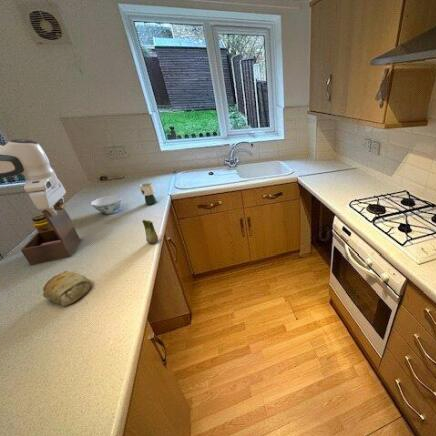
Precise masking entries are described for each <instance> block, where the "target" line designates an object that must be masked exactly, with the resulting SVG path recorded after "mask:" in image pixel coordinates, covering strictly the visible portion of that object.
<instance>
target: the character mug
mask: <svg viewBox="0 0 436 436" xmlns="http://www.w3.org/2000/svg"><path fill="white" fill-rule="evenodd" d="M139 189H140V193H141V195H142V196H144V200H145V204H146V205H153V204H155V203H157V199H156V197H155V195H154V194H155V189H154V186H153V183H152V182H145V183H141V184H139Z"/></svg>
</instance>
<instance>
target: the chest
mask: <svg viewBox="0 0 436 436" xmlns="http://www.w3.org/2000/svg"><path fill="white" fill-rule="evenodd" d="M57 240H60V239H59V238H58V236H57V234H56V233H55V231H54V230H48V231H42V232H38V231H37V232H35V234H34V235H33V236H31V238H30V239H29V241H27V243H25V244H24V246H23V247H22V248H21V249H20V252H21V253H22V255H23V256H24V257H25V259H26V260H27V262H28V264H29V265H30V266H34V265H38V264H42V263H47V262H51V261H57V260H60V259H65V258H69V257H71V256H72V255H73V253H74V251H75V250H76V248H77V246H78V244H79V243H80V241H81V238H80V235H79V234H78V232H77V230H76V228H75V225H74V226H73V227H72V229H71V230H70V232H69V233H68V234H67V236H66V237H65V239H64V240H63V241H61V242H56V243H50V244H45V245H41V244H42V243H47V242H52V241H57Z"/></svg>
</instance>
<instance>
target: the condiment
mask: <svg viewBox="0 0 436 436" xmlns="http://www.w3.org/2000/svg"><path fill="white" fill-rule="evenodd" d="M31 221H32V222H33V226H34V227H35V229H36V231H37V232H42V231H48V230H53V228H52V227H51V225H50V223H49V222H48V220H47V219H46V217H45V216H44V214H40V215H36V216H34V217H32V218H31Z"/></svg>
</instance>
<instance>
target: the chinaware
mask: <svg viewBox="0 0 436 436" xmlns="http://www.w3.org/2000/svg"><path fill="white" fill-rule="evenodd" d="M122 199H123V198H122V196H121V195H107V196H102V197H99V198H97V199H94V200H92V201H91V203H90V204H91V206H92V207H93V208H94V209H95V210H96V211H98V212H100V213H103V214H104V215H111V214H115V213H117V212H118V210H119V208H121V205H122Z"/></svg>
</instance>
